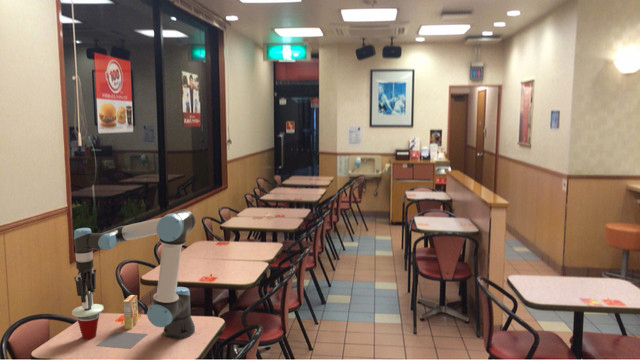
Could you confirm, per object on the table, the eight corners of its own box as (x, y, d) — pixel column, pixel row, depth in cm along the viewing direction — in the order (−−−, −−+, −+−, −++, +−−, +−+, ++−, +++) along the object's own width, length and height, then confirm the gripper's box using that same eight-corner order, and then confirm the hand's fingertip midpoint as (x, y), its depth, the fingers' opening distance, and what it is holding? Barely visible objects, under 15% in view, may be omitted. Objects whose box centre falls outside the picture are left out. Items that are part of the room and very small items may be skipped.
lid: (109, 306, 248) (108, 287, 246) (91, 317, 234) (90, 297, 233) (84, 305, 250) (83, 285, 249) (65, 315, 236) (64, 295, 235)
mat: (148, 335, 246) (148, 334, 246) (130, 350, 231) (130, 348, 231) (115, 332, 249) (115, 331, 249) (95, 347, 234) (95, 345, 234)
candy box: (131, 322, 261) (129, 294, 259) (139, 322, 261) (137, 294, 259) (124, 329, 253) (122, 301, 251) (132, 329, 253) (131, 301, 251)
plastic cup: (92, 343, 237) (90, 319, 236) (72, 341, 240) (70, 318, 238) (106, 334, 248) (105, 311, 246) (87, 332, 250) (85, 309, 249)
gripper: (88, 255, 247) (91, 300, 250) (66, 264, 232) (69, 312, 234) (101, 255, 246) (104, 301, 249) (80, 265, 230) (83, 313, 233)
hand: (87, 306), depth 242 cm, fingers closed on lid, 3 cm apart
